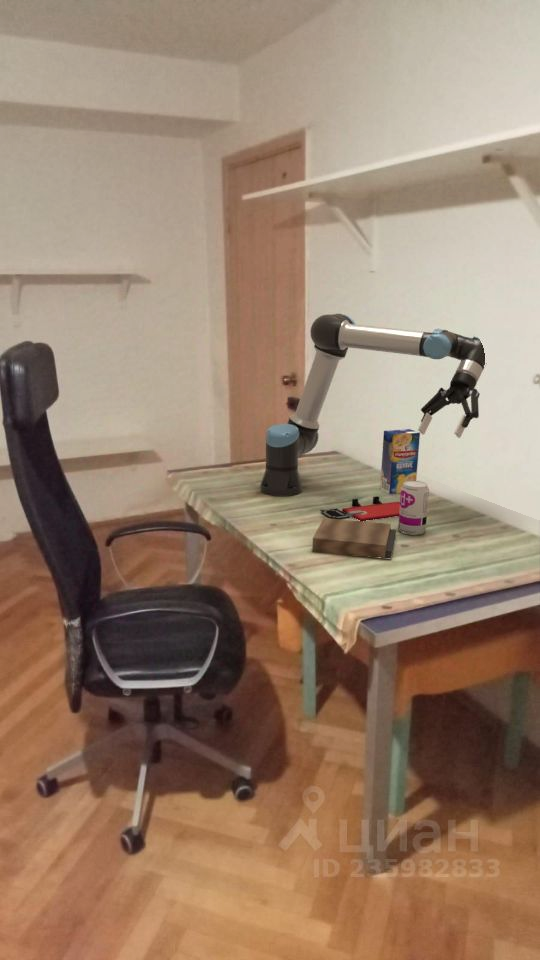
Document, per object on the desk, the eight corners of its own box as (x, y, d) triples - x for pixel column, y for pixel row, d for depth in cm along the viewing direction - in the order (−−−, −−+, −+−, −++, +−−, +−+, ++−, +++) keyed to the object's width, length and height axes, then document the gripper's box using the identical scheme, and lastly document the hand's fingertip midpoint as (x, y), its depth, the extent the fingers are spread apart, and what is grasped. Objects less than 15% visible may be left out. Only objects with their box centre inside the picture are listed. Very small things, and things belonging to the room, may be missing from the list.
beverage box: (415, 491, 245) (420, 432, 239) (389, 494, 241) (393, 434, 235) (405, 486, 251) (409, 429, 245) (379, 489, 247) (383, 430, 241)
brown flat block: (312, 551, 186) (312, 537, 184) (323, 530, 202) (323, 517, 201) (390, 559, 181) (391, 545, 180) (395, 537, 197) (396, 524, 196)
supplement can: (409, 537, 198) (413, 488, 194) (392, 529, 205) (395, 481, 201) (431, 533, 201) (435, 485, 197) (413, 525, 208) (417, 478, 204)
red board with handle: (316, 511, 221) (340, 526, 208) (317, 503, 220) (340, 517, 207) (391, 502, 233) (418, 515, 220) (392, 494, 232) (419, 507, 220)
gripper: (506, 385, 204) (478, 443, 199) (439, 384, 223) (412, 437, 218) (495, 370, 200) (467, 429, 195) (428, 370, 219) (401, 424, 214)
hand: (438, 433), depth 207 cm, fingers open, 13 cm apart
